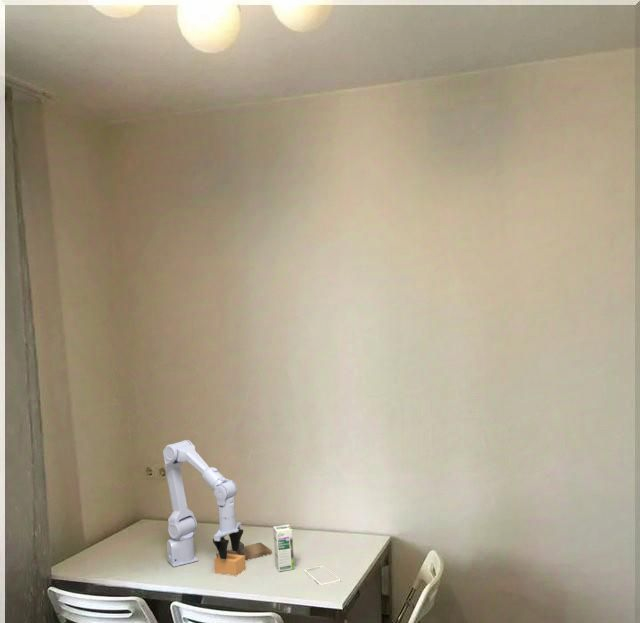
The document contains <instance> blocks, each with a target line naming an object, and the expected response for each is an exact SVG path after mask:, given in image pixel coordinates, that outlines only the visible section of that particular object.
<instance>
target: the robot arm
mask: <svg viewBox="0 0 640 623" xmlns="http://www.w3.org/2000/svg"><path fill="white" fill-rule="evenodd" d="M162 455H163V460H164V469H165V476H166V482H167V486H168V492H169V497H170V503H171V509H172V513H171V514H170V516H169V517H168V520H167V521H168V527H167V532H168V534H169V536H170V537H171V538H170V539H168V540H167V541H166V552H167V560H166V561H167V562H168V563H169V564H170V565H171V566H172V567H173V568H174V567H178V566H183V565H186V564H187V565H188V564H191V563H195V562H198V561H199V559H198V558H197V557H196V556H195V545H194V543H195V542H194V535H195V532H196V531H197V528H198V523H197V519H196V518H195V515H194V512H193V511H192V510H190V509H189V508H188V504H187V498H186V492H185V488H184V487H185V486H184V481H183V476H182V475H183V474H182V470H181V466H182V464H183V463H186V462H187V463H189V464H190V465H191V466H192V467H193V468H195V469H196V470H197V471H198V472H199V473H201V475H202V476H201V478H202V480H203V481H204V482H205V484H207V485H208V487H210V488H211V490H212V491H213V495H214V497H215V499H216V504H217V505H218V506H217V507H218V509H217V510H218V521H219V522H218V523H219V526H218V527H219V529H218V530H217V531H216V533H215V534H214V535H213V539H212V544H214V545H215V547H216V549H217V553H218V552H219V555H220V558H221V559H226V558H227V550H228V545H229V542H230V545H231V549H232V551H238V549H239V543H240V542H241V539H242V536H243V533H244V529H241V528H242V522H239V521H237V519H236V507H235V504H236V503H235V496H236V495H237V494H238V486H237V484H236V482H235V481H234V480H232V479H228V478H226V477H225V476H224V475H223V474H222V473H221V472H219V471H218V468H216V467H213V466H211V467H209V466H210V465H208V464H207V462H206V461H205V460H204V459H203V457H201V456H200V455H199V453H198V452H197V451H196V445H194V444H193V442H191V440H189V439H184V440H181V441H179V442H175V443H171V444H170V443H169V444H167V445H166V446H165V447H164V449H163V451H162ZM226 536H228V537H229V539H226V538H225V537H226Z"/></svg>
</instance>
